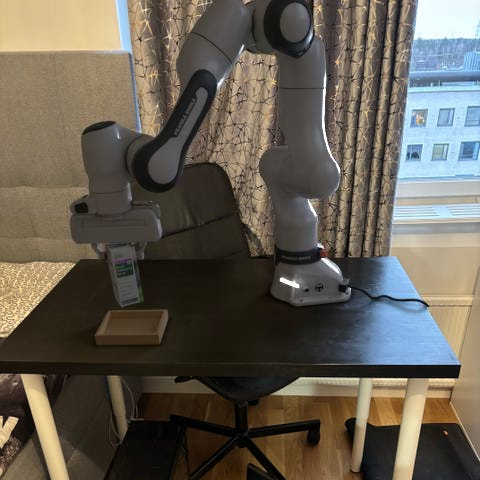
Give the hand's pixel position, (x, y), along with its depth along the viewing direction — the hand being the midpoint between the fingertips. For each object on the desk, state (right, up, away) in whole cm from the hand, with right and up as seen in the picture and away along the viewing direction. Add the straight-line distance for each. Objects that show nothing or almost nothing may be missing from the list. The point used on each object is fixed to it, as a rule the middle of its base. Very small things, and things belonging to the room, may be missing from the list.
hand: (121, 259), depth 116 cm
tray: (+1, -17, +10) cm, 20 cm away
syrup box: (+1, -9, +5) cm, 11 cm away
